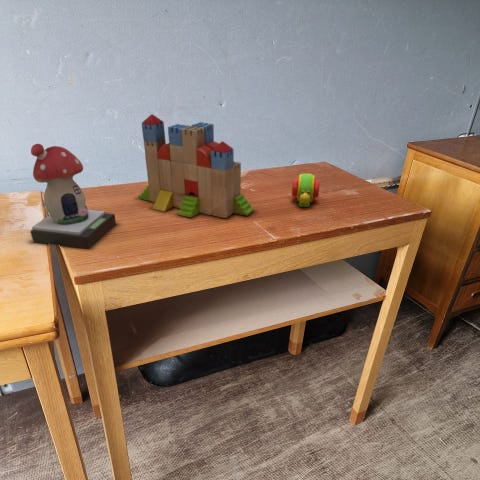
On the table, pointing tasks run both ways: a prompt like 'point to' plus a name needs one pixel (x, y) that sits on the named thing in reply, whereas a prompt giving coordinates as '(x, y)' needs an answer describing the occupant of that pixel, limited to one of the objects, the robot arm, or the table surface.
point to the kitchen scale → (74, 230)
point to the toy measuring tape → (305, 189)
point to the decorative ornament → (60, 183)
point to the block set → (191, 171)
